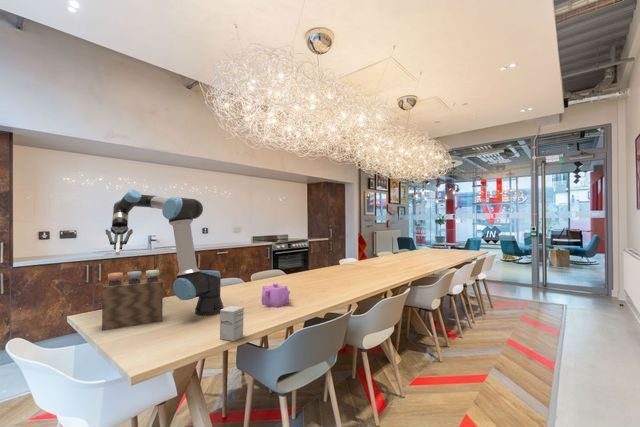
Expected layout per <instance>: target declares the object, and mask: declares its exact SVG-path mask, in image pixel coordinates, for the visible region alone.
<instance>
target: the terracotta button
mask: <svg viewBox="0 0 640 427" xmlns="http://www.w3.org/2000/svg"><path fill="white" fill-rule="evenodd" d="M123 275H124V274H123V272H112V273H111V272H110V273H107V280H109V281H112V282H118V280H122V279H123V278H124V277H123Z"/></svg>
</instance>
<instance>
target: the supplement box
mask: <svg viewBox="0 0 640 427" xmlns="http://www.w3.org/2000/svg"><path fill="white" fill-rule="evenodd" d="M244 309H245V308H244V307H241V306H234V305H229V306H226V307H224V309H221V310H220V313H219V339H220V340H226V341H232V342H234V341H237V340H238V339H240V338H242V337H243V336H244Z"/></svg>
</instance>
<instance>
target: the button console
mask: <svg viewBox="0 0 640 427" xmlns="http://www.w3.org/2000/svg"><path fill="white" fill-rule="evenodd" d="M163 290H164V281H163V278H158V276H155V278H154V279H150V277H147V278H146V279H143V280H141V278H137V280H132V278H128V281H122V279H118V282H112V280H109V282H108V283H105V284H104V285H103V286H102V299H101V300H102V305H101V306H102V308H101V309H102V310H101V312H102V313H101V315H102V316H101V317H102V318H101V331H107V330H116V329H121V328H122V329H123V328H127V327H132V326H133V327H134V326H140V325H146V324H147V325H148V324H154V323H159V322H163V314H164V312H163V311H164V310H163V306H164V305H163V303H164V302H163V301H164V300H163V299H164V298H163V297H164V296H163V292H164V291H163Z"/></svg>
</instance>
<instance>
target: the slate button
mask: <svg viewBox="0 0 640 427" xmlns="http://www.w3.org/2000/svg"><path fill="white" fill-rule="evenodd" d="M126 273H127V276H126V277H127V279H132V280H137V279H138V278H141V277H142V271H141V270H136V271H127V272H126Z"/></svg>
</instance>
